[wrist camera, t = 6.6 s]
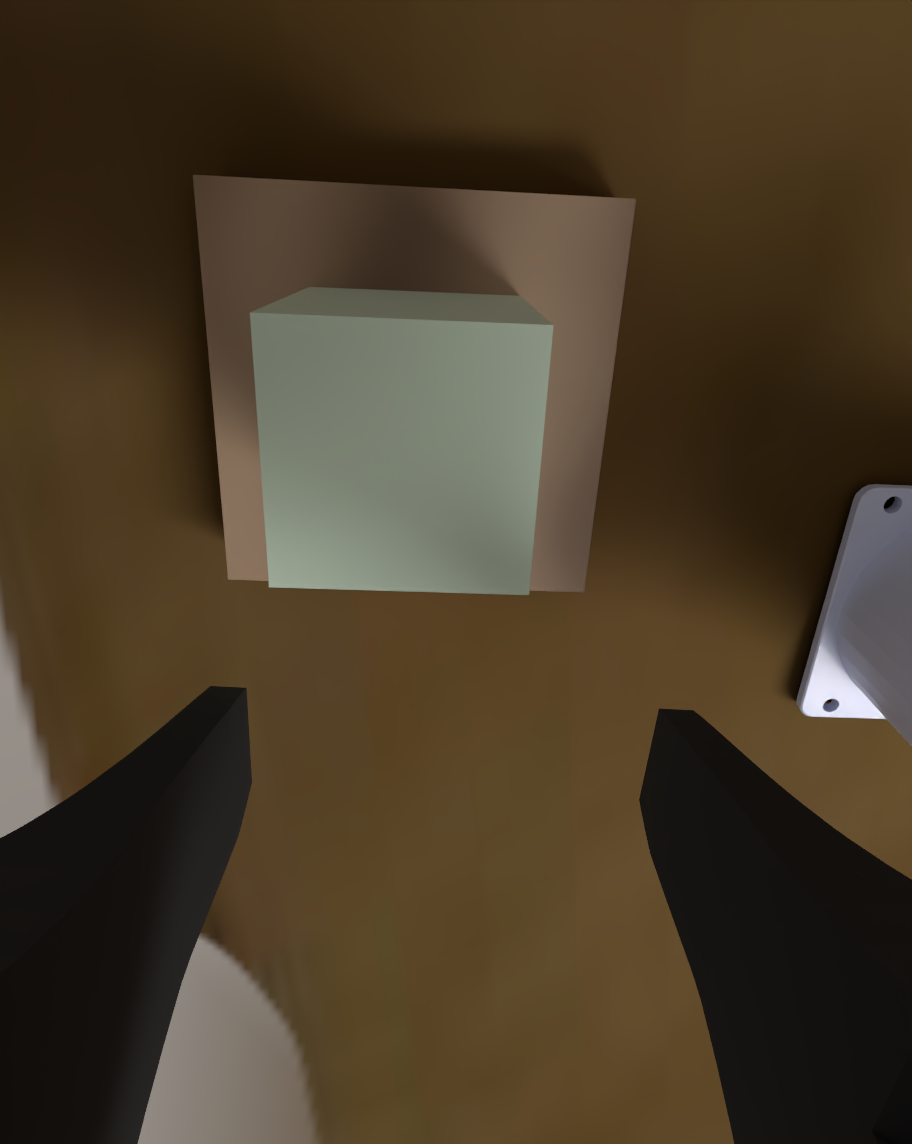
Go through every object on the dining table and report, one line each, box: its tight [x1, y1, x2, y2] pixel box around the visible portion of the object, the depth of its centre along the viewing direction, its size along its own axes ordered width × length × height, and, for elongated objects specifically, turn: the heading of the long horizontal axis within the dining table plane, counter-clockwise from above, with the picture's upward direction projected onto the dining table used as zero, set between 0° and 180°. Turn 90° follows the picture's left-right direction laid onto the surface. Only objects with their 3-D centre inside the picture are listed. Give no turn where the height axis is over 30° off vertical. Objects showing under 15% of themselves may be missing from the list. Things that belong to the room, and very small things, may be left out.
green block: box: [250, 287, 554, 595], centre depth 16 cm, size 5×5×6 cm
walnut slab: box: [193, 175, 636, 592], centre depth 20 cm, size 10×10×2 cm
